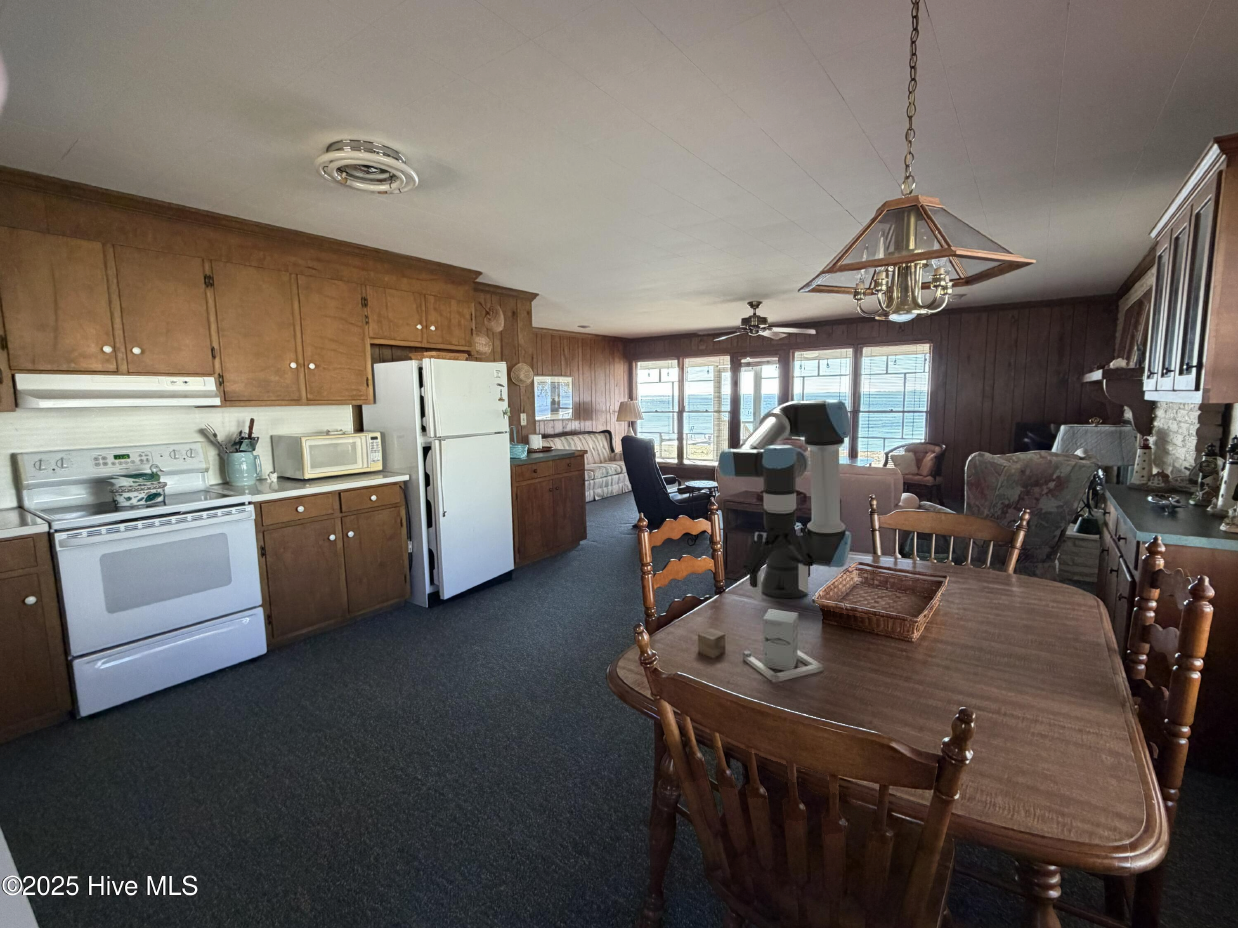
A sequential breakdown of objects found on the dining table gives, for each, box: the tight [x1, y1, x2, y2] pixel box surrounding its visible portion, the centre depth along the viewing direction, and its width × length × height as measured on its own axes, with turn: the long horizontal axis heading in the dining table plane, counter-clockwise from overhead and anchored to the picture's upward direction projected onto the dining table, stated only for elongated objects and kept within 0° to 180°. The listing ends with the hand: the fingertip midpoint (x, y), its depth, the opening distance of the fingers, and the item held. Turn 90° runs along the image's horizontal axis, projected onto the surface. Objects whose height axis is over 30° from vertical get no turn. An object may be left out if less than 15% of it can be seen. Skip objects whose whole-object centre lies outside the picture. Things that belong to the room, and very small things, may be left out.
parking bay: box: [742, 650, 824, 684], centre depth 136 cm, size 14×13×2 cm
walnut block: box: [697, 628, 726, 659], centre depth 145 cm, size 5×5×5 cm
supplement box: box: [762, 608, 799, 672], centre depth 136 cm, size 7×7×13 cm
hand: (780, 594), depth 135 cm, fingers open, 13 cm apart
